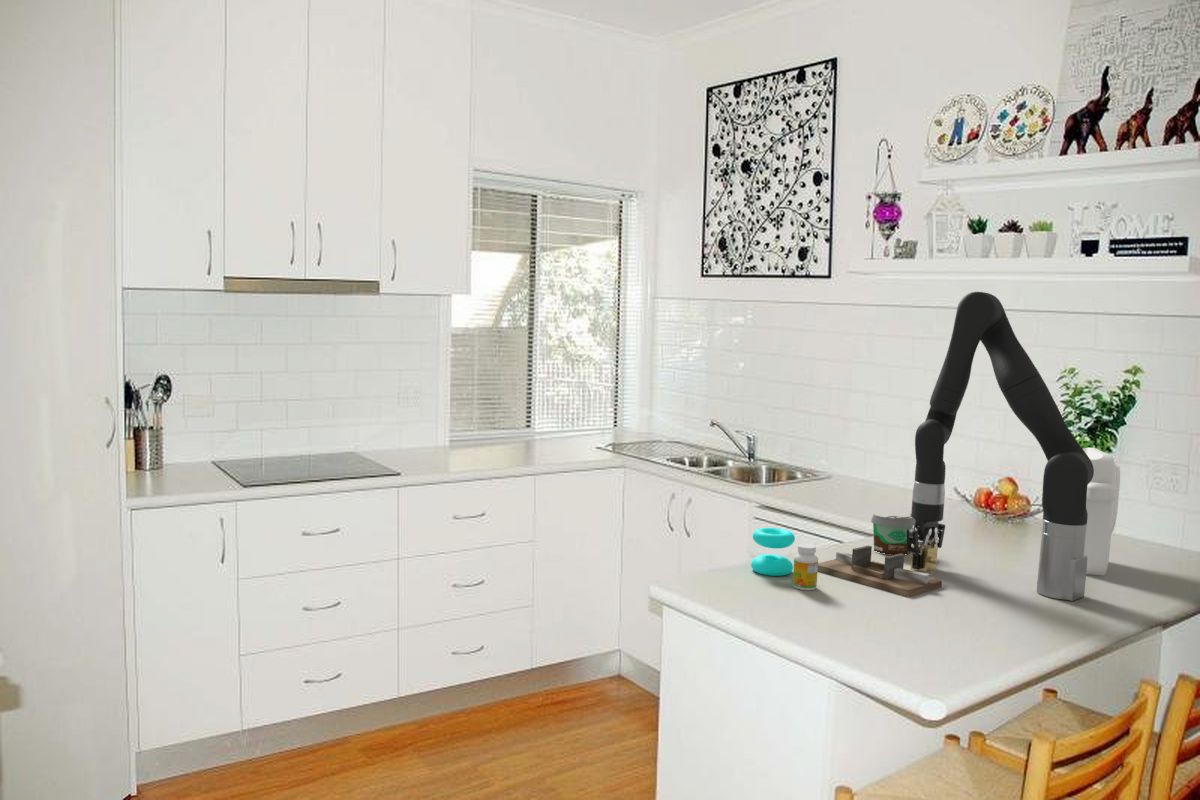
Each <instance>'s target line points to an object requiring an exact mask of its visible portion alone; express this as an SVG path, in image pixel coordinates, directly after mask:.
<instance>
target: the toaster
mask: <svg viewBox="0 0 1200 800" xmlns="http://www.w3.org/2000/svg"><path fill="white" fill-rule="evenodd" d="M1081 448H1082V449H1083V450H1084V452H1085V453H1086V454H1087V456H1088V457H1089V459H1090V460H1091V462H1092V464H1093V468H1094V475H1093V478H1092V480H1091V482H1090V483H1089V484H1088V486H1087V498H1086V509H1087V513H1088V518H1087V528H1086V539H1085V551H1084V556H1087V557H1088V559H1087V570H1086V575H1093V576H1105V575H1106V573H1107V569H1108V566H1109V560H1110V559H1109V558H1110V552H1111V541H1112V534H1113V532H1114V531H1115V526H1116V523H1117V518H1118V507H1119V496H1120V488H1121V487H1120V485H1121V469H1120V466H1119V465H1117V464H1116V462H1115V460H1114V458H1113V457H1112V456H1111V454H1108V453H1106V452H1104V451H1102V450H1100V449H1099V448H1096V447H1089V446H1088V447H1081Z"/></svg>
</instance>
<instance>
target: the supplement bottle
mask: <svg viewBox="0 0 1200 800" xmlns="http://www.w3.org/2000/svg"><path fill="white" fill-rule="evenodd" d="M816 551H817V548H816V545H814V544H811V543H799V544H797V553H796V554H795V555H794V558H793V559H794V560H793V570H792V571H793V573H792V574H793V575H792V587H793V588H794V589H797V590H801V591H813V590H816V589H817V584H818V583H817V582H818V572H819V571H818V563H819V557H818V556H817V555H816V554H815V553H816Z"/></svg>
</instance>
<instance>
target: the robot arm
mask: <svg viewBox="0 0 1200 800" xmlns="http://www.w3.org/2000/svg"><path fill="white" fill-rule="evenodd" d="M949 341H950V342H949V346H948V349H947V352H946V356H945V358H944V360H943V363H942V364H943V365H942V367H941V369H940V372H939V375H938V377H937V379H936V383H935V386H934V388H933V390H932V394H931V396H930V400H929V410H928V413H927V415H926V418H925V421H923V422H921V424H919V426H918V427H917V428H916V431H915V436H914V448H915V451H914V452H915V460H916V461H915V462H916V464H915V471H914V481H913V482H914V484H913V487H912V488H913V489H912V495H911V496H912V497H911V498H912V499H911V510H910V511H911V513H910V514H911V516H912V518H914V519H915V525H914V526H913V529H907V531H906V533H907V551H908V553H912V554H913V559H912V568H913V569H917V570H920V569H921V568H922V553H923V550H924V547H926V546H927V545H932V546H936V547H938V549H941V548H942V545H943V543H944V542H943V541H944V537H945V536H944V535H945V530H946V524H944V523H939V522H941V521H943V520H944V511H945V509H944V508H945V500H946V499H945V497H946V488H945V482H946V470H947V469H946V463H945V461H944V453H945V452H944V451H945V445H946V444H947V443H948V441H949V440H950V438H951V435H952V432H953V429H954V426H955V423H956V418H957V413H958V411H959V409H960V407H961V404H962V401H963V398H964V397H965V393H966V390H967V388H968V386H969V381H970V378H971V377H970V376H971V373H972V365H973V361H974V357H975V354H976V351H977V348H978V345H979V343H980V342H981V343H982V345H983V347H984V348H985V350H986V352H987V354H988V356H989V358H990V361H991V364H992V368H993V369H992V370H993V373H994V376H995V379H996V382H997V385H998V388H999V389H1000V391H1001V394H1002V395H1003V396H1004V398H1005V400H1006V402H1007V404H1008V407H1009V408H1010V409H1011V410H1012V412H1013V414H1014V415H1015V416H1016V417H1017V419H1018V420H1019V421H1020V422H1021V424H1023V425H1024V427H1026V429H1028V431H1029V432H1030V433H1031V434H1032V435H1033V436H1034V438H1035V439H1036V441H1037V442H1038V444H1039V445H1040V447H1041V449H1042V451H1043V454H1044V456H1045V457H1046V461H1047V462H1046V464H1045V466H1044V470H1043V471H1044V472H1043V479H1042V497H1041V507H1042V512H1043V513H1042V523H1041V524H1042V526H1041V534H1040V535H1041V536H1040V546H1039V547H1040V548H1039V558H1038V559H1039V560H1038V561H1039V562H1038V570H1037V571H1038V572H1037V581H1036V592H1037V593H1038V594H1039V595H1042V596H1044V597H1048V598H1050V599H1051V598H1052V599H1056V600H1065V601H1070V602H1074V601H1076V600H1078V599H1081V598H1084V597H1085V592H1086V591H1085V590H1086V579H1087V574H1086V570H1087V559H1088V557H1087V556H1084V551H1085V539H1086V528H1087V518H1088V513H1087V509H1086V498H1087V486H1088V484H1089V483H1090V482H1091V480H1092V478H1093V475H1094V468H1093V464H1092V462H1091V460H1090V459H1089V457H1088V456H1087V454H1086V453H1085V452H1084V450H1083V449H1082V448H1083V447H1082V446H1081V444H1080V443H1079V442H1078V440H1077V439H1076V438H1075V437H1074V435H1073V433H1072V432H1071V431H1070V429H1069V428H1068V426H1067V424H1066V422H1065V420H1064V416H1062V414H1061V412H1060V409H1059V407H1058V405H1057V404H1056V401H1055V400H1054V397H1053V396H1052V394H1051V392H1050V390H1049V387H1048V386H1047V384H1046V383H1045V381H1044V379H1043V377H1042V375H1041V374H1040V372H1039V370H1038V369H1037V367H1036V366H1035V364H1034V362H1033V361H1032V359H1031V358H1030V356H1029V355H1028V353H1027V352H1026V350H1025V349H1024V347H1023V346H1022V344H1021V343H1020V341H1019V340H1018V338H1017V336H1016V334H1015V332H1014V330H1013V328H1012V326H1011V323H1010V321H1009V319H1008V317H1007V314H1006V311H1005V308H1004V307H1003V304H1002V303H1001V301H1000V300H999V298H998V297H996V296H995V295H993V294H992V293H989V292H985V291H973V292H972V291H971V292H969V293H967V294H966V295H964V296H963V297H962V298H961V299H960V301H959V303H958V305H957V308H956V313H955V318H954V323H953V328H952V333H951V338H950V340H949ZM912 545H913V546H912ZM919 545H920V548H919Z"/></svg>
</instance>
